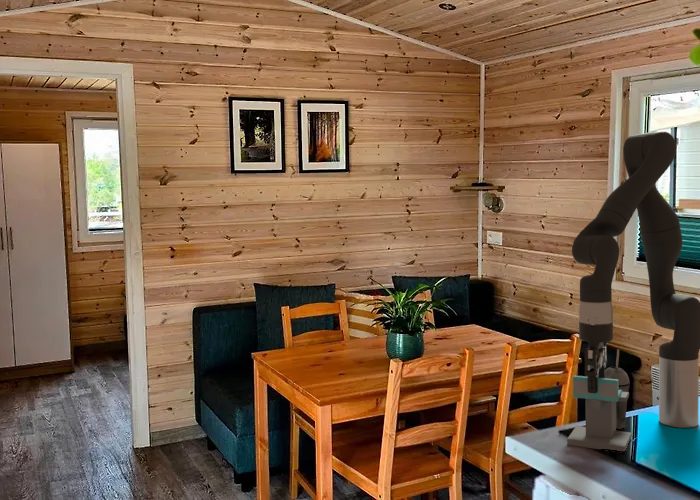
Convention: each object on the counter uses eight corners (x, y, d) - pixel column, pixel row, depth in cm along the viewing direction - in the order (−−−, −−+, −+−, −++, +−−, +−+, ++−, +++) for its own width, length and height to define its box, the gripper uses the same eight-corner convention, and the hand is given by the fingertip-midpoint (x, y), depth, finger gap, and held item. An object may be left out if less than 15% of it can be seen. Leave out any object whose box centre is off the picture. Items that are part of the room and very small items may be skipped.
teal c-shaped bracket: (579, 389, 176) (579, 369, 175) (622, 393, 171) (622, 373, 170) (573, 397, 169) (573, 376, 169) (617, 401, 165) (617, 380, 164)
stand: (576, 431, 179) (576, 384, 178) (631, 438, 173) (631, 390, 172) (567, 444, 170) (566, 395, 169) (624, 452, 164) (624, 401, 163)
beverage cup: (593, 424, 184) (593, 348, 183) (617, 421, 186) (616, 345, 185) (612, 433, 177) (611, 354, 176) (636, 429, 179) (636, 351, 178)
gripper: (585, 314, 174) (585, 379, 175) (572, 324, 162) (573, 394, 163) (617, 316, 170) (618, 382, 172) (607, 326, 158) (607, 397, 159)
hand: (596, 388), depth 167 cm, fingers open, 8 cm apart
